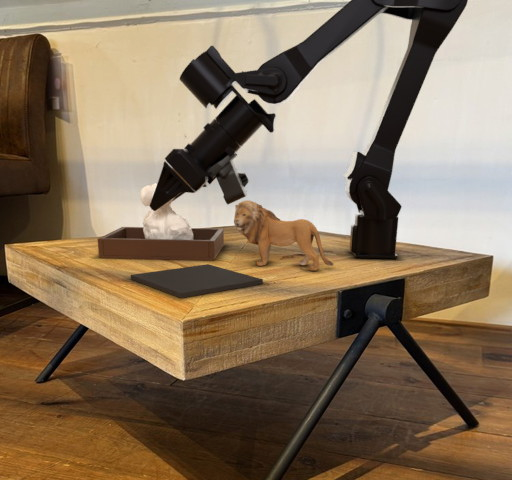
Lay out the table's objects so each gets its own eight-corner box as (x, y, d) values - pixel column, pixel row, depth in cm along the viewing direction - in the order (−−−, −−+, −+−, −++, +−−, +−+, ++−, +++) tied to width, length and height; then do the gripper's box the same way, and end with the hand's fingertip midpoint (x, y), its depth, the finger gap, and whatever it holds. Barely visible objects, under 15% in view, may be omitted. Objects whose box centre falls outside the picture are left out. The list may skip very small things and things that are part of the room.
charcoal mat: (208, 268, 80) (208, 264, 80) (262, 283, 71) (263, 279, 71) (130, 279, 73) (130, 274, 73) (180, 298, 64) (180, 293, 64)
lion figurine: (228, 265, 82) (228, 201, 79) (239, 259, 87) (239, 198, 84) (330, 272, 78) (334, 205, 75) (336, 265, 83) (339, 202, 80)
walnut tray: (223, 245, 99) (223, 228, 98) (214, 260, 86) (214, 241, 85) (123, 243, 99) (122, 226, 98) (98, 257, 87) (97, 238, 86)
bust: (147, 256, 98) (106, 205, 91) (177, 226, 100) (138, 174, 93) (184, 268, 89) (141, 212, 82) (216, 235, 91) (176, 177, 84)
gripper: (262, 175, 79) (185, 253, 83) (266, 170, 97) (202, 234, 101) (205, 113, 77) (128, 196, 81) (220, 119, 94) (156, 187, 98)
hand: (158, 205), depth 90 cm, fingers open, 9 cm apart
